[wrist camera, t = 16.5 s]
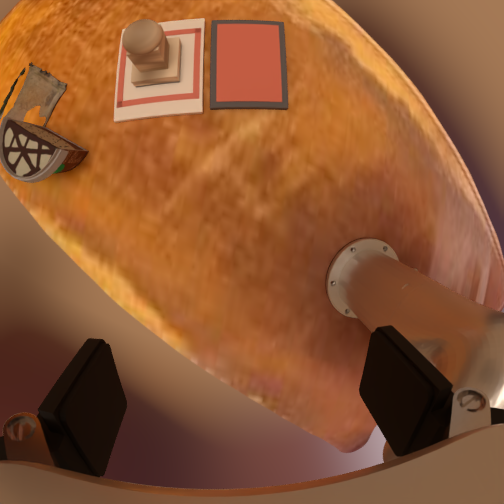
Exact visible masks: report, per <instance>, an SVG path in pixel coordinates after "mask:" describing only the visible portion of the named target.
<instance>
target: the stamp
mask: <svg viewBox="0 0 504 504" xmlns="http://www.w3.org/2000/svg"><path fill="white" fill-rule="evenodd" d="M122 43H123V46H124V48H125V50H126V51H127V53H126V56H127V57H128V58H129V59H130V60H131V62H132V73H131V83H132V84H133V85H134V86H135V87H136V88H137V87H144V86H151V85H159V84H168V83H179V82H180V71H181V50H182V44H181V41H180V37H175V38H166V35H165V33H164V31H163V28H162V26H161V24H158V23H156V22H155V21H153V20H149V19H142V20H138V21H135V22H133V23H132V24H130V25H129V26H128V27H127V28H126V30H125V31H124V34H123V37H122Z"/></svg>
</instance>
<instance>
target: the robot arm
mask: <svg viewBox="0 0 504 504" xmlns="http://www.w3.org/2000/svg"><path fill="white" fill-rule="evenodd" d="M351 248H352V249H351ZM350 249H351V250H350ZM331 281H332V282H331ZM326 291H327V295H328V298H329V300H330V302H331V304H332V305H333V306H334V307H335V309H336V310H337V311H339V312H340V313H341V314H343V315H344V316H347V317H351V318H359V319H360V320H361V321H362V323H363V324H364V325H365V326H366V327H367V328H368V329H369V330H370V331H371V332H372V334H371V337H370V342H369V347H368V352H367V357H366V362H365V366H364V371H363V375H362V379H361V383H360V388H359V392H360V396H361V398H362V399H363V401H364V403H365V404H366V406H367V408H368V410H369V411H370V413H371V415H372V416H373V418H374V420H375V421H376V423H377V425H378V427H379V428H380V430H381V432H382V433H383V435H384V437H385V438H386V440H387V441H386V443H385V446H384V449H383V461H384V463H382V464H378V465H375V466H372V467H369V468H365V469H361V470H358V471H354V472H350V473H346V474H342V475H338V476H333V477H328V478H323V479H318V480H313V481H307V482H301V483H295V484H288V485H279V486H271V487H260V488H245V489H181V488H167V487H157V486H148V485H140V484H133V483H127V482H121V481H115V480H110V479H105V478H100V476H103V475H104V474H105V471H106V468H107V464H108V461H109V458H110V455H111V452H112V449H113V446H114V443H115V440H116V437H117V434H118V431H119V428H120V425H121V422H122V420H123V416H124V414H125V411H126V408H127V401H126V398H125V395H124V391H123V389H122V386H121V382H120V379H119V376H118V373H117V369H116V366H115V362H114V359H113V355H112V352H111V348H110V345H109V344H106V342H105V341H104V340H103V339H91V338H90V339H87V341H86V342H85V343H84V345H83V346H82V347H81V349H80V350H79V351H78V353H77V354H76V355H75V357H74V358H73V360H72V361H71V362H70V363H69V365H68V366H67V368H66V369H65V370H64V372H63V373H62V375H61V376H60V377H59V379H58V380H57V382H56V383H55V385H54V386H53V388H52V389H51V391H50V392H49V393H48V395H47V396H46V398H45V399H44V401H43V402H42V404H41V405H40V407H39V408H38V411H39V414H38V415H37V417H36V416H35V415H33V414H30V413H18V414H16V415H13V416H12V417H11V418H9V419H8V420H7V421H6V422H5V424H4V427H3V436H2V437H0V504H504V313H503V312H500V311H497V310H494V309H492V308H489V307H486V306H483V305H481V304H479V303H476V302H474V301H471V300H469V299H468V298H466V297H464V296H462V295H460V294H458V293H456V292H454V291H452V290H450V289H449V288H447V287H445V286H443V285H441V284H440V283H438V282H436V281H434V280H433V279H431V278H429V277H427V276H425V275H423V274H422V273H420V272H418V270H417V268H411V267H409V266H407V265H405V264H403V263H401V262H399V259H398V257H397V254H396V253H395V251H394V250H393V249H392V248H391V247H390V246H389V245H388V244H387V243H385V242H383V241H381V240H378V239H374V238H362V239H358V240H355V241H353V242H351V243H349V244H348V245H346V246H345V247H344V248H343V249H342V250H341V251H340V252H339V253H338V254H337V255H336V256H335V258H334V259H333V261H332V263H331V265H330V267H329V270H328V273H327V278H326Z"/></svg>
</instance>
